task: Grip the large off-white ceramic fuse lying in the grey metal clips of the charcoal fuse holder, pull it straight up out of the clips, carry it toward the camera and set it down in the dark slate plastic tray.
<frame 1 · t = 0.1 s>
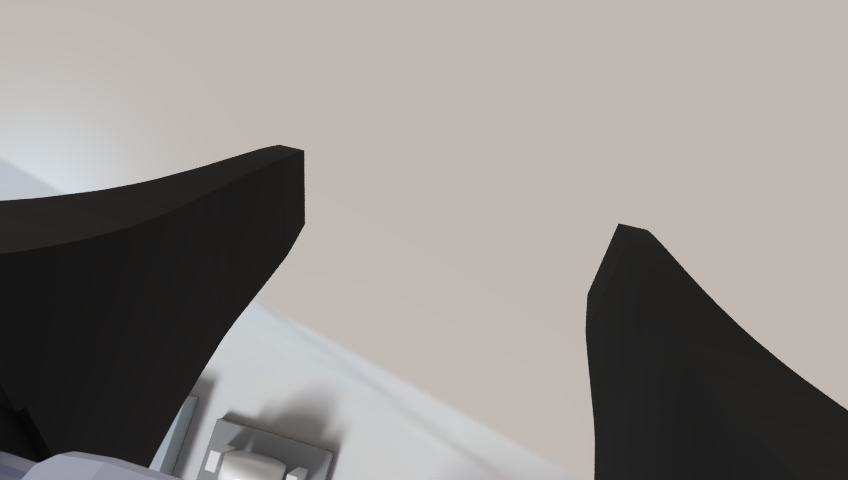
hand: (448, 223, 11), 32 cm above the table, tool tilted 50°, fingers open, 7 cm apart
tray: (105, 471, 41), on the table
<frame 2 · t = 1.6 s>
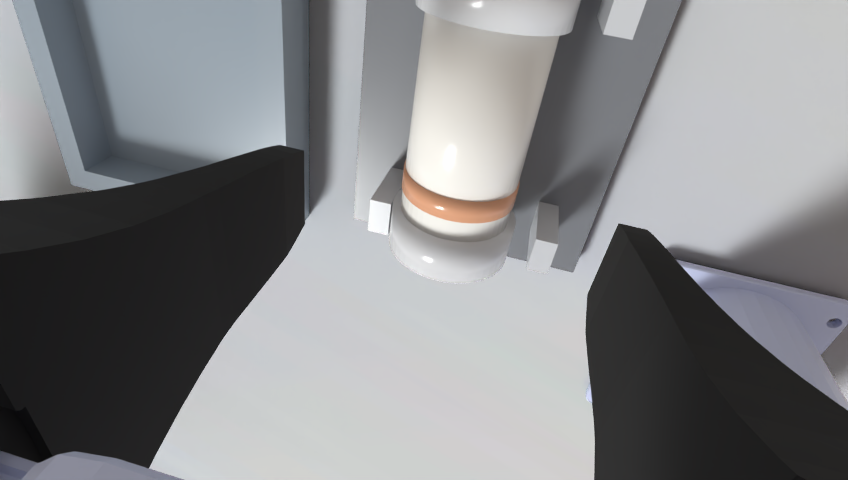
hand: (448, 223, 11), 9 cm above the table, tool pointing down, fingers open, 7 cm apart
tray: (182, 31, 20), on the table
fuse: (491, 104, 18), point 1 cm above the table, tilted 10°, touching fuse holder
fuse holder: (494, 97, 19), on the table
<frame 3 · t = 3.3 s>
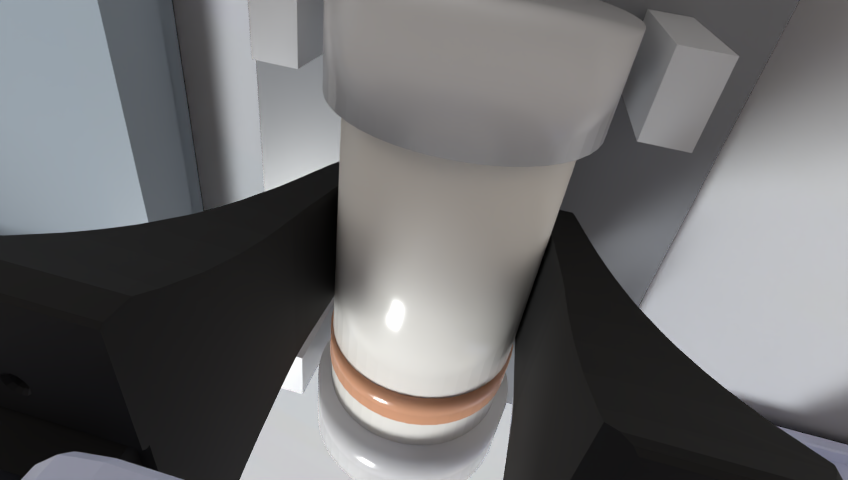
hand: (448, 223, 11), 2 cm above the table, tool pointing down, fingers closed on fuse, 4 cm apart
tray: (13, 86, 14), on the table
fuse: (454, 205, 12), point 1 cm above the table, touching fuse holder, gripper
fuse holder: (460, 190, 13), on the table
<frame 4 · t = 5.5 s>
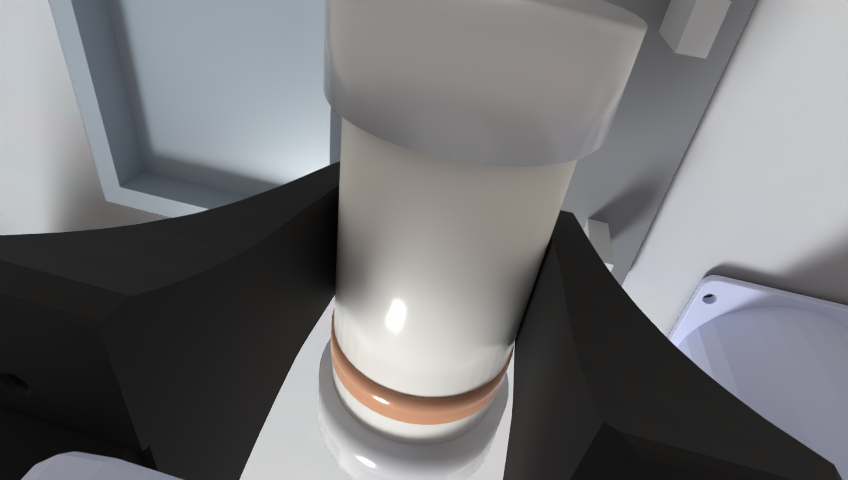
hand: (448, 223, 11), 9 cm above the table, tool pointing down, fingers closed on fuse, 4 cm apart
tray: (222, 46, 20), on the table
fuse: (455, 205, 12), point 8 cm above the table, touching gripper
fuse holder: (543, 112, 18), on the table
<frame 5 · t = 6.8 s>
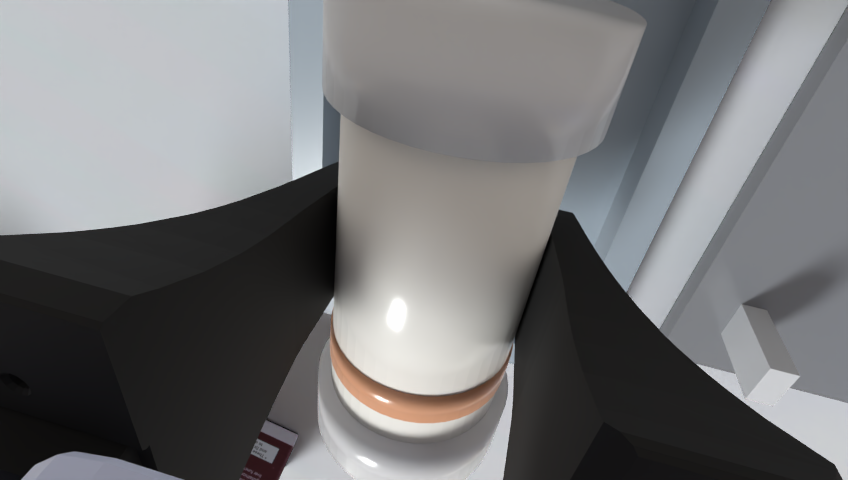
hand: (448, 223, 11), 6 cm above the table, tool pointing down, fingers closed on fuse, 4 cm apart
supplement box: (230, 420, 29), on the table
tray: (482, 133, 16), on the table
fuse: (456, 204, 12), point 5 cm above the table, touching gripper
when the fingers open (3 cm above the table, at t = 7.7 s): fuse drops 1 cm, resting on tray.
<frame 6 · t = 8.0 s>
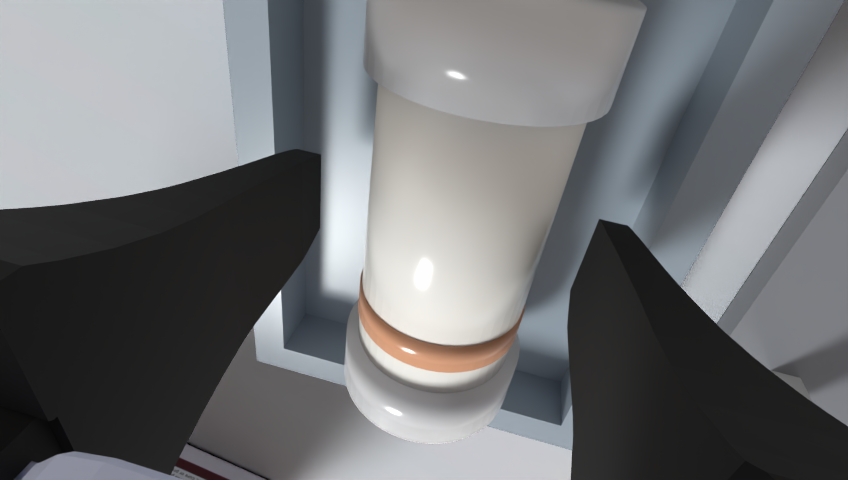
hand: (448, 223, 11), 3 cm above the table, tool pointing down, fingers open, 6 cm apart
supplement box: (201, 465, 27), on the table
tray: (466, 171, 14), on the table
fuse: (465, 178, 13), point 1 cm above the table, touching tray
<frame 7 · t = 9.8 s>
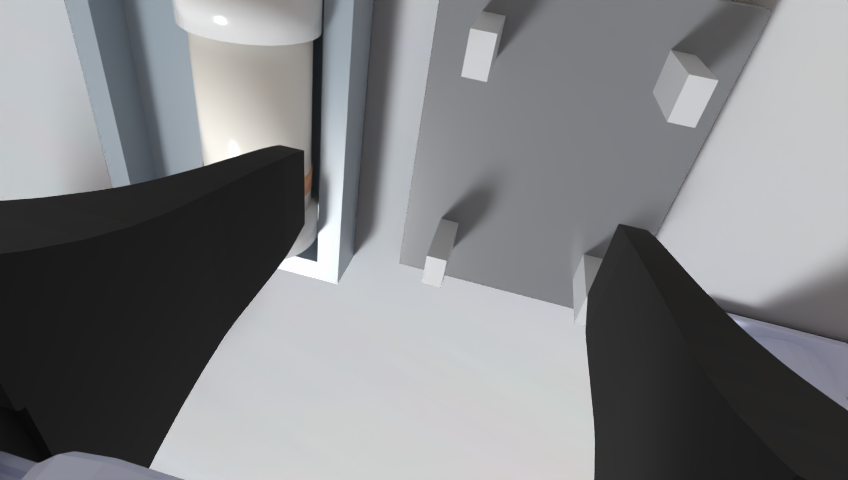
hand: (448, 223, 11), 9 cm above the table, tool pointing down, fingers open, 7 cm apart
tray: (240, 86, 21), on the table
fuse: (228, 97, 20), point 1 cm above the table, tilted 55°, touching tray
fuse holder: (544, 156, 20), on the table
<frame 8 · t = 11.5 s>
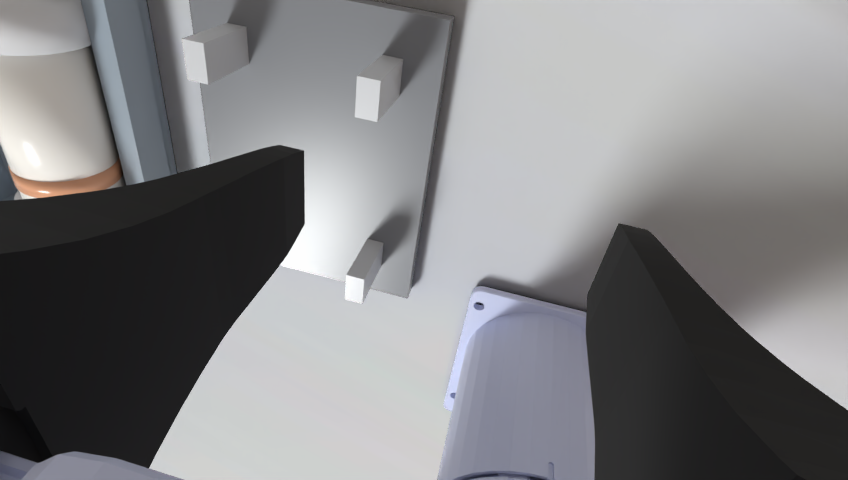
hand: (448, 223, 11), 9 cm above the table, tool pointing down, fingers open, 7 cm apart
tray: (61, 91, 23), on the table
fuse: (40, 101, 22), point 2 cm above the table, tilted 56°, touching tray
fuse holder: (320, 151, 22), on the table
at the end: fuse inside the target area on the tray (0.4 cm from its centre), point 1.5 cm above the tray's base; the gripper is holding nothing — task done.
